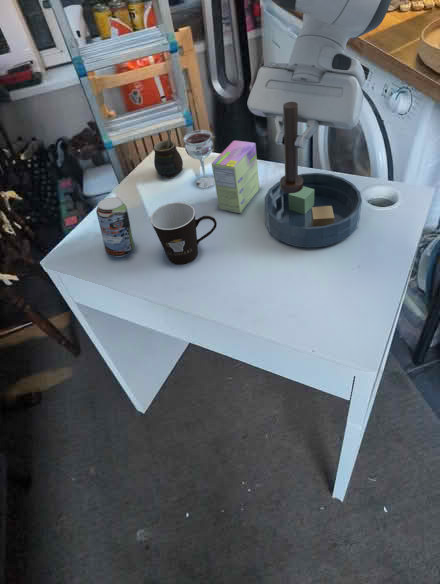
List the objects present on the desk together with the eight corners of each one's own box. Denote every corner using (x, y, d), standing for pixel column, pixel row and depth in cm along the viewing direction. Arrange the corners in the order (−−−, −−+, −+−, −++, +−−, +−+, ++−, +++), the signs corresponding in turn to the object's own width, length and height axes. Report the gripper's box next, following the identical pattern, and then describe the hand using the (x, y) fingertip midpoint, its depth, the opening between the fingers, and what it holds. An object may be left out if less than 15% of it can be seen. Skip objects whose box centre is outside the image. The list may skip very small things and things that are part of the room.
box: (238, 185, 105) (233, 139, 96) (260, 189, 103) (256, 142, 94) (218, 209, 99) (210, 163, 91) (240, 214, 97) (234, 167, 88)
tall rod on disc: (305, 181, 84) (306, 99, 73) (299, 194, 82) (299, 111, 70) (283, 179, 86) (281, 98, 74) (277, 192, 83) (273, 110, 72)
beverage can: (102, 257, 93) (82, 211, 84) (122, 236, 97) (105, 191, 88) (125, 264, 90) (106, 217, 82) (145, 242, 94) (129, 196, 86)
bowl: (366, 200, 94) (369, 178, 90) (347, 257, 83) (350, 235, 79) (281, 189, 101) (280, 169, 97) (253, 241, 90) (251, 220, 86)
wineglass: (187, 187, 107) (177, 142, 99) (201, 172, 111) (192, 128, 102) (210, 192, 104) (202, 146, 96) (224, 177, 108) (217, 131, 100)
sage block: (314, 204, 94) (314, 189, 91) (304, 214, 92) (304, 199, 89) (298, 199, 96) (298, 184, 93) (288, 209, 94) (288, 194, 91)
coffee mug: (155, 264, 89) (142, 226, 82) (174, 238, 94) (163, 199, 87) (206, 275, 85) (197, 235, 78) (223, 246, 90) (216, 207, 83)
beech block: (330, 221, 90) (331, 205, 87) (333, 233, 87) (334, 217, 84) (311, 222, 90) (311, 207, 87) (312, 235, 88) (313, 219, 85)
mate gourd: (153, 181, 111) (143, 145, 104) (162, 165, 116) (153, 130, 109) (179, 181, 110) (171, 145, 102) (187, 165, 115) (180, 129, 107)
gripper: (254, 52, 77) (232, 130, 79) (368, 61, 68) (339, 149, 70) (268, 69, 82) (246, 141, 84) (374, 80, 73) (348, 160, 75)
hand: (289, 145), depth 77 cm, fingers closed on tall rod on disc, 2 cm apart
